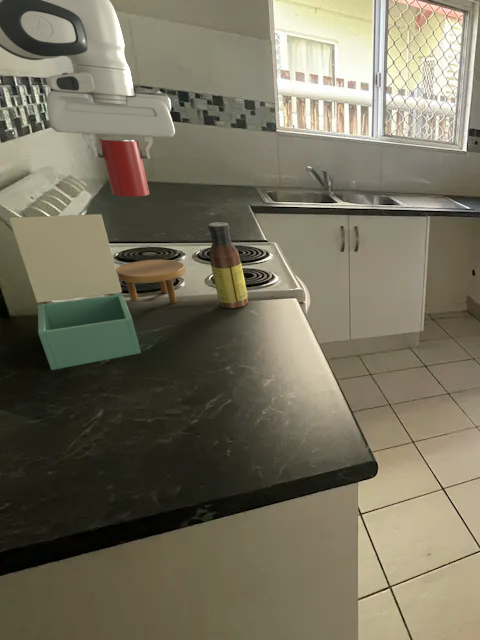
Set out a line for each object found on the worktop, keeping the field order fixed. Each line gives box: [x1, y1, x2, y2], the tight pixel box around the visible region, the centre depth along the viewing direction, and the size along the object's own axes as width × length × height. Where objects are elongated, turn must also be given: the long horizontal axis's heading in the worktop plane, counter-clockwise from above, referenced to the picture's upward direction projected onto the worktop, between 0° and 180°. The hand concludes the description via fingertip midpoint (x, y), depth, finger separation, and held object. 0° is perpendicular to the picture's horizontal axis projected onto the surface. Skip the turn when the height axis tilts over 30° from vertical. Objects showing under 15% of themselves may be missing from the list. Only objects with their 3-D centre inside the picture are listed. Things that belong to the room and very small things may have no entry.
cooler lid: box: [8, 213, 123, 304], centre depth 90 cm, size 15×13×1 cm
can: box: [98, 136, 150, 198], centre depth 101 cm, size 6×6×11 cm
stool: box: [116, 259, 186, 304], centre depth 113 cm, size 13×13×8 cm
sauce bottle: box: [207, 221, 249, 309], centre depth 111 cm, size 6×6×20 cm
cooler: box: [37, 293, 142, 371], centre depth 89 cm, size 15×13×8 cm
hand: (122, 158), depth 100 cm, fingers closed on can, 6 cm apart
